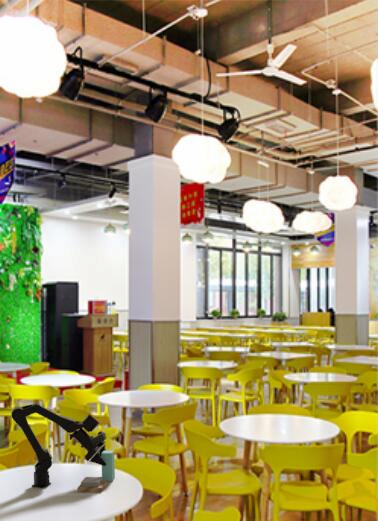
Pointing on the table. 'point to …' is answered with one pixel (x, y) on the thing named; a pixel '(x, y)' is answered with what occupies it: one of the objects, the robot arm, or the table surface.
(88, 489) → the walnut slab
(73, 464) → the table surface
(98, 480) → the charcoal tile
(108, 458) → the teal pillar
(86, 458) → the robot arm
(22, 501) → the table surface
